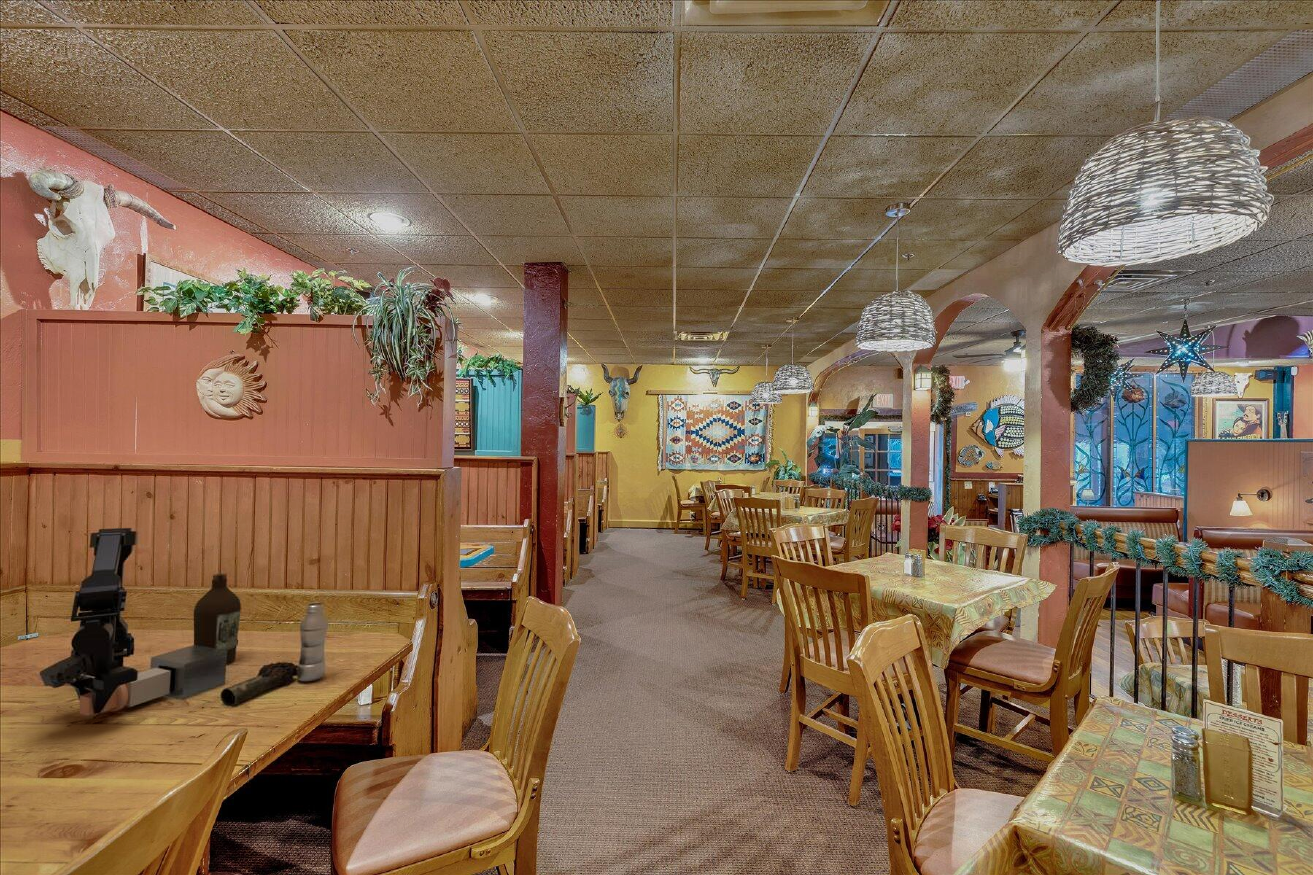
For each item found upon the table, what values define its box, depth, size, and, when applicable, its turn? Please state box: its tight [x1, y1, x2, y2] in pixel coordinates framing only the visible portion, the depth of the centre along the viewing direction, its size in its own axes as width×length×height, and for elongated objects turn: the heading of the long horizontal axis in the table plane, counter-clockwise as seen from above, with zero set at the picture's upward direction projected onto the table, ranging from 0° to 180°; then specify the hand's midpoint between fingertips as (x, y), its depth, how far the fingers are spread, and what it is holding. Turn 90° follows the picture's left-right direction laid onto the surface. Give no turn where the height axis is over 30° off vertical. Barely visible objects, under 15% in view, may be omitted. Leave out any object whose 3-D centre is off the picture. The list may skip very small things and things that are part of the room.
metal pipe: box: [219, 661, 298, 707], centre depth 142 cm, size 18×7×6 cm, turn 163°
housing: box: [149, 644, 227, 700], centre depth 143 cm, size 12×10×8 cm
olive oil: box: [193, 572, 242, 666], centre depth 160 cm, size 11×11×25 cm
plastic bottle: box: [296, 602, 329, 682], centre depth 150 cm, size 6×7×20 cm
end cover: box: [78, 668, 171, 717], centre depth 130 cm, size 6×15×6 cm, turn 163°
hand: (92, 711), depth 124 cm, fingers closed on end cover, 3 cm apart
